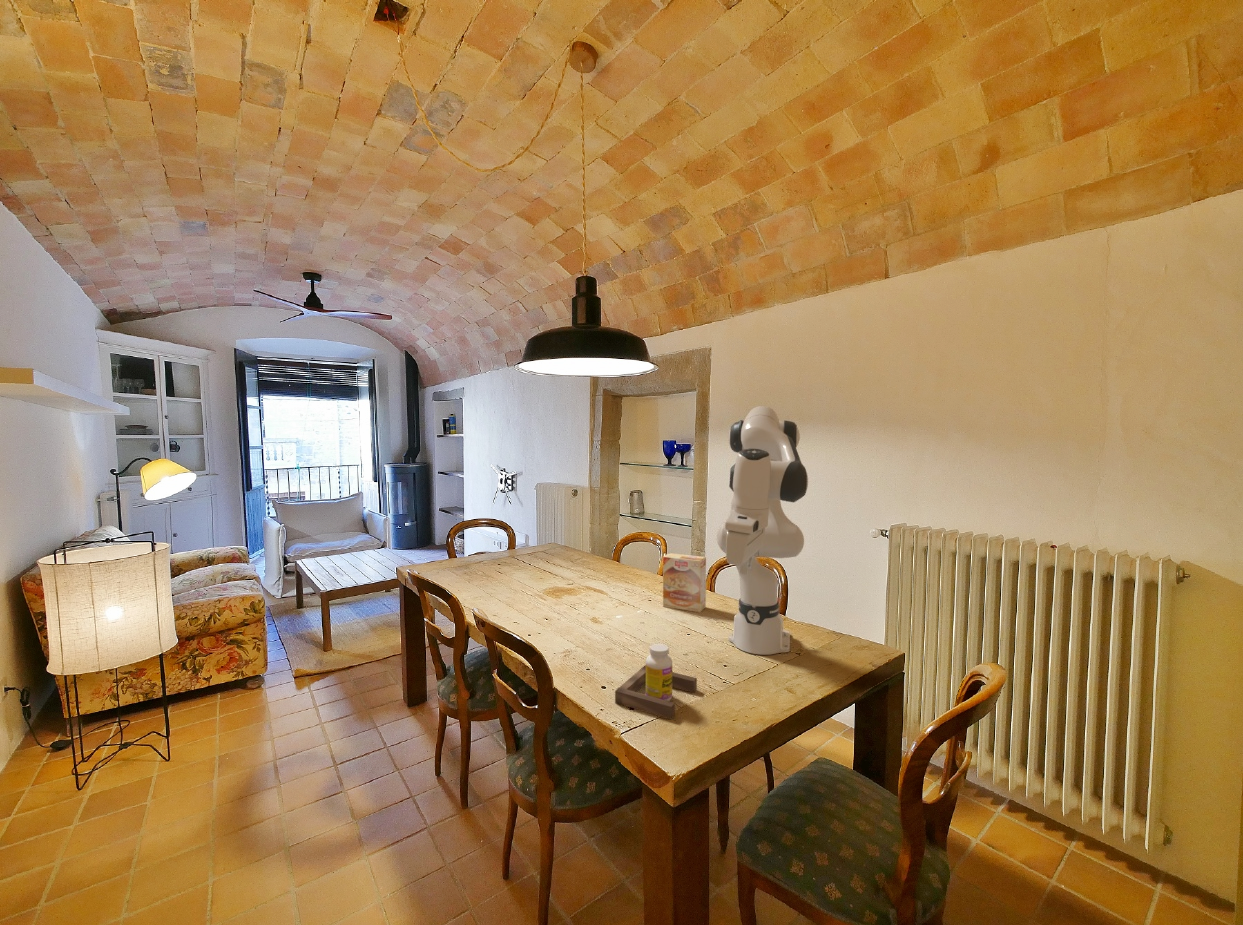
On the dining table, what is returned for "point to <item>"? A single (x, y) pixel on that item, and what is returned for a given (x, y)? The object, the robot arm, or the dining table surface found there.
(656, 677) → the supplement bottle
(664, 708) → the bay
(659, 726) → the dining table surface
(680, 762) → the dining table surface
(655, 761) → the dining table surface
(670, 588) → the coffeecake box
